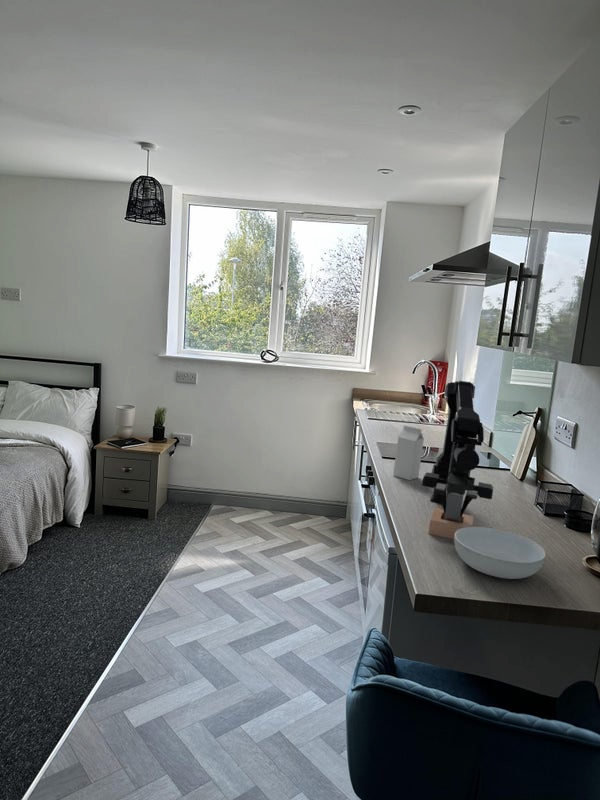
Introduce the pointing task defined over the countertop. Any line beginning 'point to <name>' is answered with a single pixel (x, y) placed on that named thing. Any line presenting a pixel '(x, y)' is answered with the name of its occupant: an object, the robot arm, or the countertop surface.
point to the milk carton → (408, 453)
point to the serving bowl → (499, 552)
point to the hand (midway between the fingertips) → (452, 514)
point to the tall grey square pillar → (453, 507)
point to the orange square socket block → (447, 524)
